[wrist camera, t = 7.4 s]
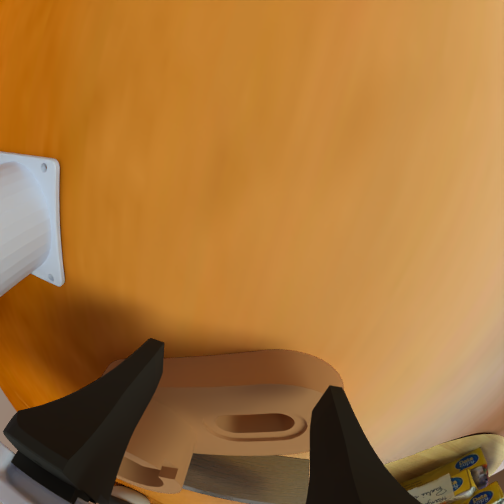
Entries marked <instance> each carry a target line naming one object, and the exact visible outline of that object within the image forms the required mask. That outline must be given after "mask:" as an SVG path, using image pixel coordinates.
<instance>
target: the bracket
mask: <svg viewBox="0 0 504 504" xmlns="http://www.w3.org/2000/svg"><path fill="white" fill-rule="evenodd" d="M124 360H125V359H120V360H116V361H114V362H112V363H111V364H110V365H109V366H108V367H107V369H106V370H105V372H104V373H103V375H105V374H106V373H108V372H109V371H111V370H112V369H114V368H115V367H116V366H118V365H119V364H120V363H121V362H123V361H124ZM103 375H102V376H103ZM102 376H101V377H102ZM329 385H332V386H338V387H342V388H343V390H344V386H343V381H342V379H341V377H340V375H339V373H338V372H337V371H336V370H335V369H334V368H333V367H332V366H331V365H330V364H328V363H327V362H325V361H323V360H322V359H320V358H317V357H315V356H312V355H310V354H306V353H303V352H298V351H292V350H280V349H273V350H260V351H252V352H243V353H233V354H222V355H210V356H196V357H179V358H164V359H163V374H162V376H161V379H160V381H159V384H158V386H157V389H156V391H155V393H154V395H153V397H152V399H151V401H150V402H149V404H148V406H147V408H146V410H145V411H144V413H143V415H142V417H141V419H140V421H139V422H138V424H137V426H136V428H135V430H134V432H133V434H132V436H131V439H130V441H129V444H128V446H127V449H126V451H125V454H124V457H123V459H122V462H121V465H120V468H119V471H118V474H117V477H116V478H118V479H121V480H123V481H125V482H127V483H130V484H132V485H135V486H138V487H140V488H144V489H147V490H151V491H155V492H160V493H168V494H174V493H179V492H180V491H181V490H182V487H183V484H184V481H185V477H186V474H187V471H188V468H189V465H190V461H191V458H192V455H193V453H197V454H210V455H232V456H269V455H290V454H299V453H304V452H309V451H310V423H311V415H312V410H313V408H314V407H315V406H316V404H317V403H318V401H319V400H320V398H321V397H322V395H323V394H324V393H325V391H326V390H327V388H328V387H329Z"/></svg>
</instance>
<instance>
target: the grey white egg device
mask: <svg viewBox="0 0 504 504" xmlns="http://www.w3.org/2000/svg"><path fill="white" fill-rule="evenodd" d="M107 504H150V502H149V500H148V499H147V498H146V497H145V496H144V495H143V494H141V493H139V492H137V491H135V490H133V489H131V488H128V487H125V486H113V490H112V493H111V497H110V500H109V503H107Z"/></svg>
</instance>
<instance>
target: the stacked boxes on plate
mask: <svg viewBox="0 0 504 504" xmlns="http://www.w3.org/2000/svg"><path fill="white" fill-rule="evenodd" d="M503 459H504V438H503V437H502V436H499V435H495V434H481V435H474V436H468V437H465V438H460V439H456V440H453V441H449V442H446V443H442V444H439V445H437V446H434V447H432V448H430V449H426V450H424V451H422V452H419V453H416V454H415V455H412V456H409V457H406V458H404V459H400V460H397V461H394V462H391V463H388V464H385V465H384V466H385V467H386V468H387V470H388V471H389V472H390V473H391V474H392V476H393V477H394V478H395V479H396V480H397V481H398V482H399V483H400V485H401V486H402V487H403V488H405V489H406V490H407V491H408V492H409V493H410V494H411V495H412V496H413V497H415V498H416V499H417V500H418V501H419V502H421V503H422V504H503V503H504V493H503V492H502V490H501V488H500V486H499V484H498V482H497V481H495V482H493V483H491V484H489V485H488V481H489V477H490V476H491V475H492V474H493V473H494V472H495V471H496V469H497V468H498V467H499V466H500V464H501V463H502V461H503Z"/></svg>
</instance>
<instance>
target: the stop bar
mask: <svg viewBox="0 0 504 504" xmlns="http://www.w3.org/2000/svg"><path fill="white" fill-rule="evenodd" d="M308 483H309V460H306V459H297V458H289V457H282V456H276V455H269V456H232V455H210V454H197V453H193V455H192V458H191V461H190V465H189V468H188V471H187V474H186V477H185V481H184V484H183V487H182V488H183V489H187V490H190V491H194V492H198V493H201V494H205V495H210V496H214V497H218V498H223V499H227V500H233V501H238V502H243V503H249V504H306V499H307V493H308Z"/></svg>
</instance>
